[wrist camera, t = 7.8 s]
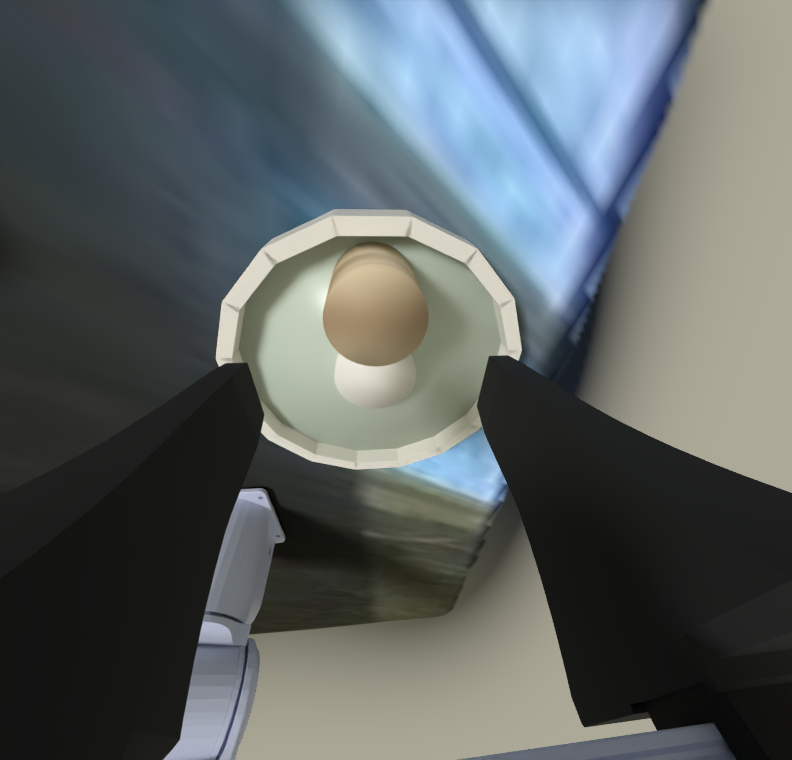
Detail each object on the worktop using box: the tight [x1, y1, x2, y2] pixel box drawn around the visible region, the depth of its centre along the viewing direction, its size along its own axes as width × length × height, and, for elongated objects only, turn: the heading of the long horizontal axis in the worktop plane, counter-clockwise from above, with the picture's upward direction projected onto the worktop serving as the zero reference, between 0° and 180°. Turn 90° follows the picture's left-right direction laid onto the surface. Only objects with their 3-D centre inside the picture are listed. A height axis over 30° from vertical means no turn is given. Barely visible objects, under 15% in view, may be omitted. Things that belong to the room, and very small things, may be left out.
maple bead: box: [323, 242, 429, 366], centre depth 14 cm, size 4×4×4 cm
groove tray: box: [216, 209, 522, 470], centre depth 19 cm, size 18×18×2 cm
